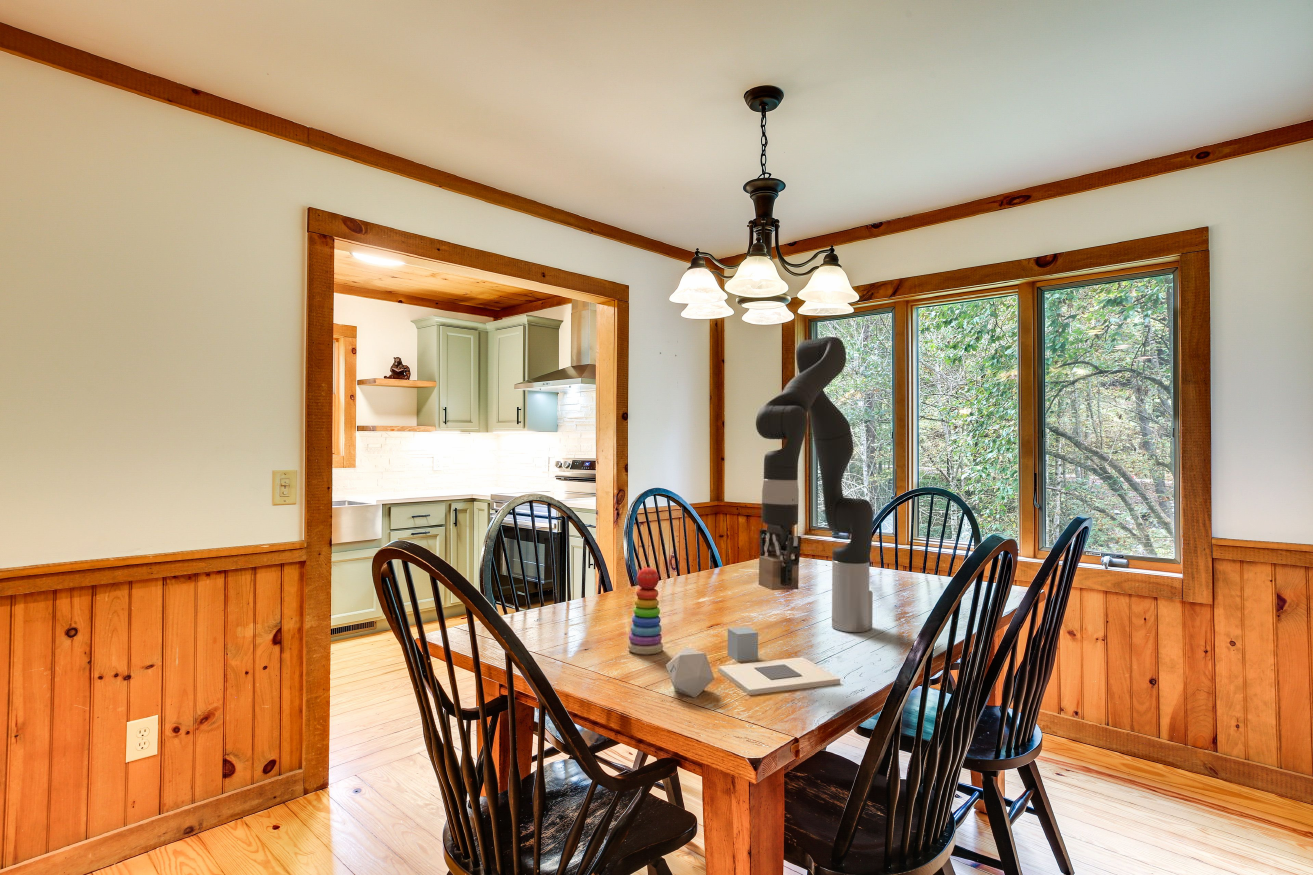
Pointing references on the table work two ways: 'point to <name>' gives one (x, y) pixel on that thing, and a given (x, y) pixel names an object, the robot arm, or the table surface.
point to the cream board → (777, 675)
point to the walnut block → (775, 573)
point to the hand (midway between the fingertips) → (778, 581)
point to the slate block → (742, 644)
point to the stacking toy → (646, 616)
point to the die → (690, 672)
